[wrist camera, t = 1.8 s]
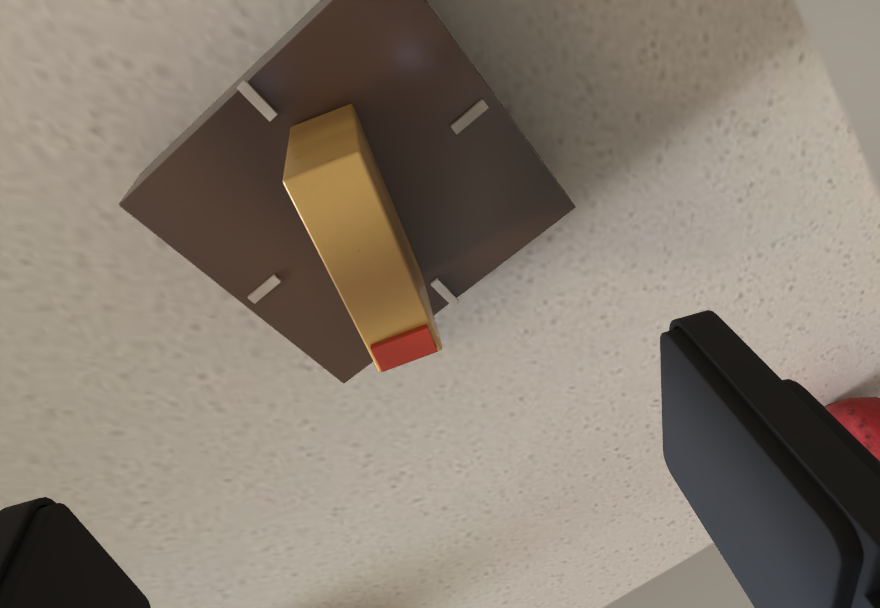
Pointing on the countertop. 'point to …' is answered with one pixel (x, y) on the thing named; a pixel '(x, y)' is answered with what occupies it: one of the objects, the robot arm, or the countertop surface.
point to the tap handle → (360, 236)
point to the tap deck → (395, 150)
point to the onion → (860, 420)
